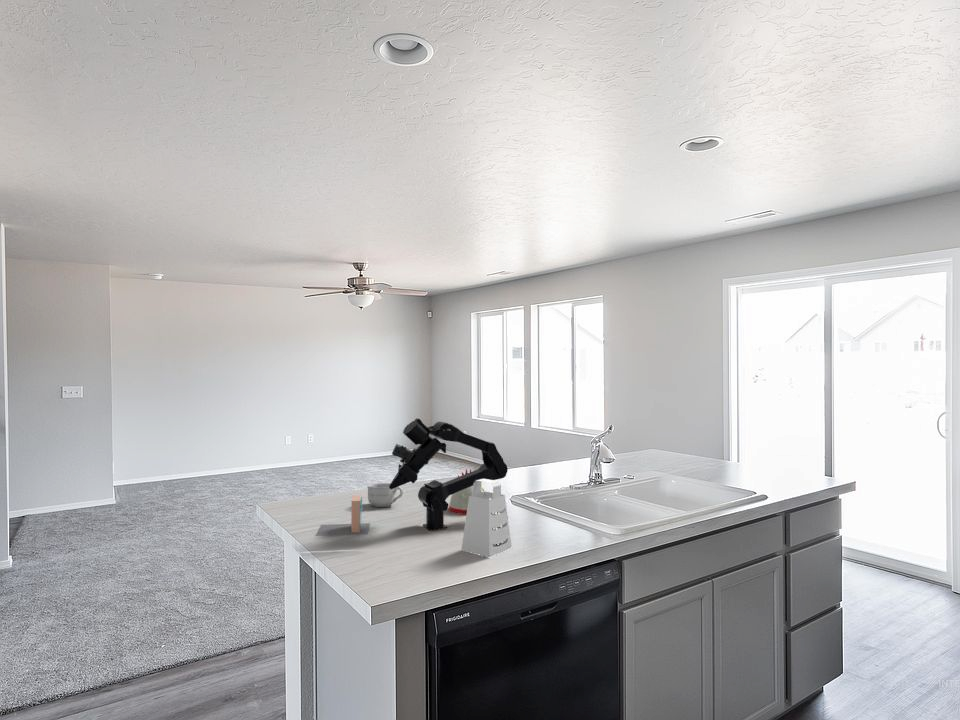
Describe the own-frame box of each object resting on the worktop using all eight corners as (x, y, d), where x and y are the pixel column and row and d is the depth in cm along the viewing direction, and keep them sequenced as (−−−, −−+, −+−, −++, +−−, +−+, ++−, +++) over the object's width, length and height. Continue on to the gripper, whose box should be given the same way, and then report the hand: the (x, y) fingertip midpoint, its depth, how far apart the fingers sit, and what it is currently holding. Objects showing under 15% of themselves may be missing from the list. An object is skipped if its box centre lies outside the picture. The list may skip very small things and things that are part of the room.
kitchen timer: (486, 514, 204) (486, 472, 204) (448, 514, 204) (448, 472, 204) (486, 505, 218) (487, 465, 218) (450, 504, 218) (451, 465, 218)
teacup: (361, 507, 213) (361, 485, 213) (379, 500, 223) (379, 480, 223) (391, 511, 207) (391, 489, 207) (408, 505, 216) (409, 484, 216)
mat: (370, 524, 190) (370, 523, 190) (367, 535, 178) (367, 534, 178) (321, 526, 188) (321, 524, 188) (315, 537, 176) (315, 535, 176)
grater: (484, 541, 173) (484, 475, 173) (511, 548, 166) (512, 480, 166) (461, 550, 165) (461, 481, 165) (489, 558, 158) (490, 486, 158)
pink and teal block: (361, 525, 188) (362, 494, 188) (359, 532, 180) (360, 500, 180) (353, 525, 187) (353, 495, 187) (351, 532, 179) (351, 500, 179)
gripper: (406, 432, 195) (374, 465, 193) (406, 439, 176) (370, 476, 175) (429, 455, 196) (397, 487, 194) (432, 464, 177) (396, 501, 176)
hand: (390, 487), depth 185 cm, fingers closed
